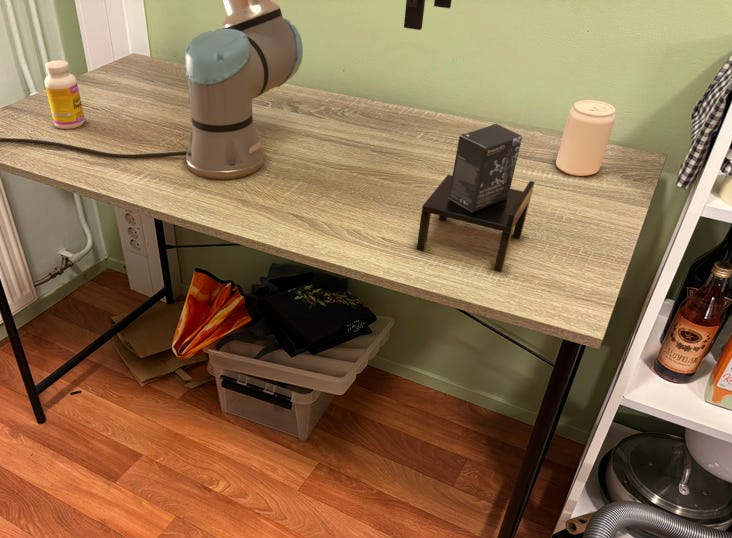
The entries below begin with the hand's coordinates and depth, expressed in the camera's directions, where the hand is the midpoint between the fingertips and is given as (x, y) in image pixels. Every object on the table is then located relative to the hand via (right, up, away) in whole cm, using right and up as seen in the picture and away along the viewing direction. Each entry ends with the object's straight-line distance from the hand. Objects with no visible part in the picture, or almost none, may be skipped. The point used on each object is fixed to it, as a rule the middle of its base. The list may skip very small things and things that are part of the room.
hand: (428, 17), depth 110 cm
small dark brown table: (+7, -36, +2) cm, 37 cm away
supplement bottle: (-71, -3, +41) cm, 82 cm away
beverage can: (+34, -18, +22) cm, 44 cm away
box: (+7, -30, -3) cm, 31 cm away
